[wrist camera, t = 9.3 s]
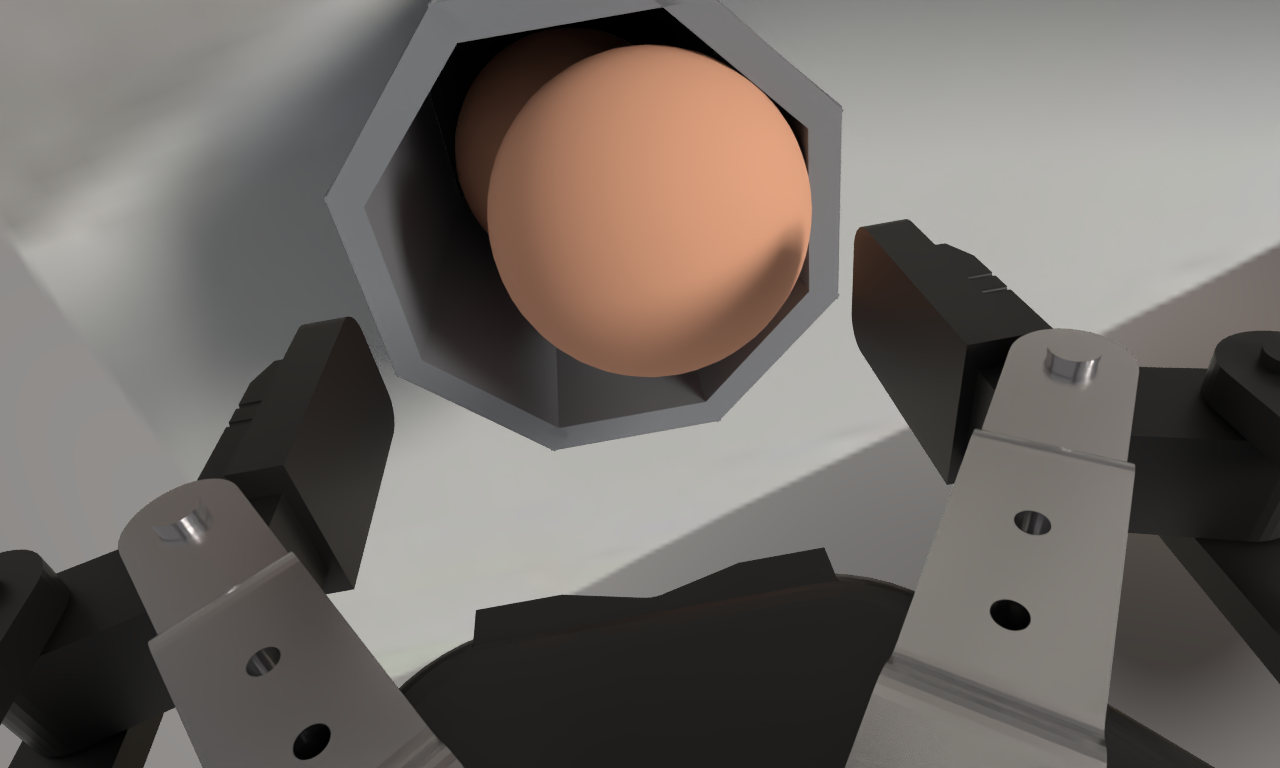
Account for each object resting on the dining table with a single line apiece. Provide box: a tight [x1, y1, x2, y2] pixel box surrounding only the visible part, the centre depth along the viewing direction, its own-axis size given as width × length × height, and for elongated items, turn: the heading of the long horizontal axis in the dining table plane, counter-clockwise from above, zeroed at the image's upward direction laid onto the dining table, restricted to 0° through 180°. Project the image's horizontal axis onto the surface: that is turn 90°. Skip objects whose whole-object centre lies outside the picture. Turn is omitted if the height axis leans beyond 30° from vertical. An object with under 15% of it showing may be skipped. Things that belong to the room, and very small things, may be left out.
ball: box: [487, 45, 812, 377], centre depth 14 cm, size 6×6×6 cm
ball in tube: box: [455, 27, 633, 234], centre depth 19 cm, size 6×6×6 cm
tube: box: [324, 0, 843, 451], centre depth 18 cm, size 9×9×9 cm
